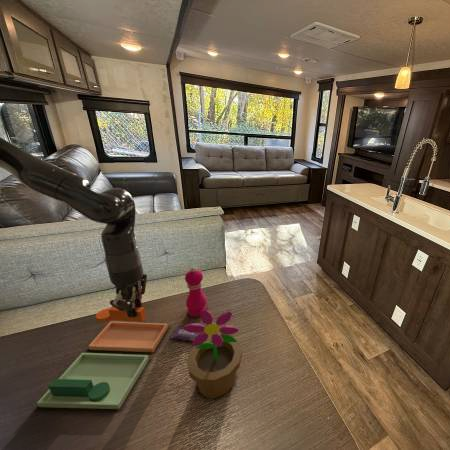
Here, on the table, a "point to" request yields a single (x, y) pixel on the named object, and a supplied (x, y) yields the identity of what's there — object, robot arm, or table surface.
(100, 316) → the orange spoon
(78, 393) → the green spoon
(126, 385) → the green tray
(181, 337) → the snack package
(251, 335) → the table surface
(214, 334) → the flowerpot
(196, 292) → the pepper mill
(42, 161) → the robot arm
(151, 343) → the orange tray
